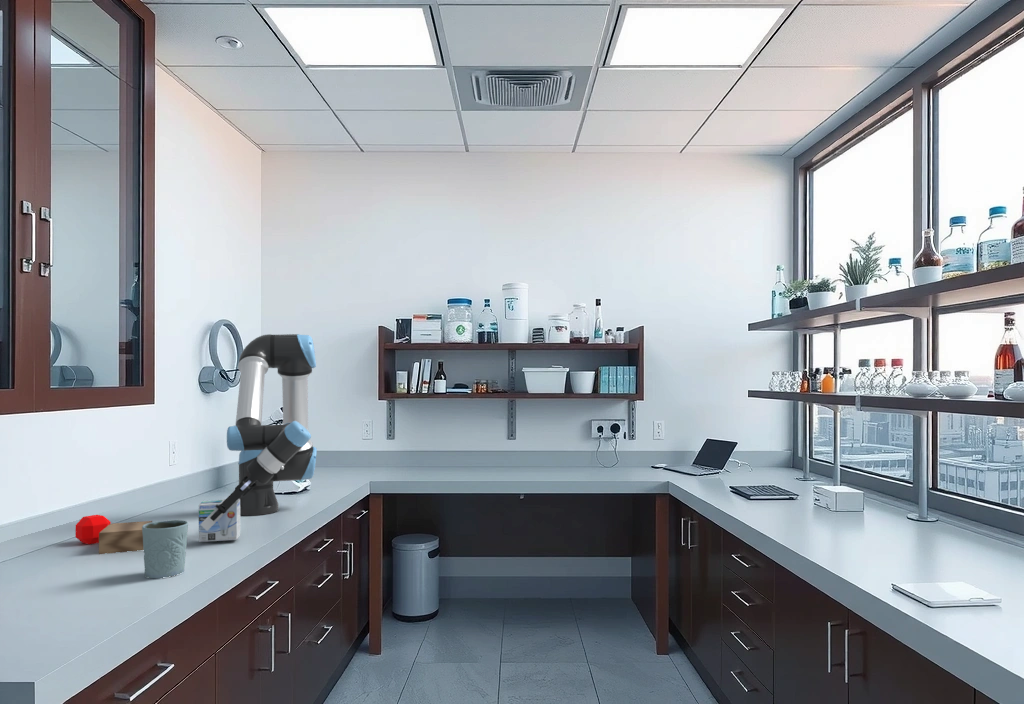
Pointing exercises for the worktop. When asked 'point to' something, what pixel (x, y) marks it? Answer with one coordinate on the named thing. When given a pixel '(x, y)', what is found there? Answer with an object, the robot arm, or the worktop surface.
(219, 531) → the light bulb box
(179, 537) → the grey green embossed cup
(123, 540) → the walnut block
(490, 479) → the worktop surface
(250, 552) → the worktop surface
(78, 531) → the ball
